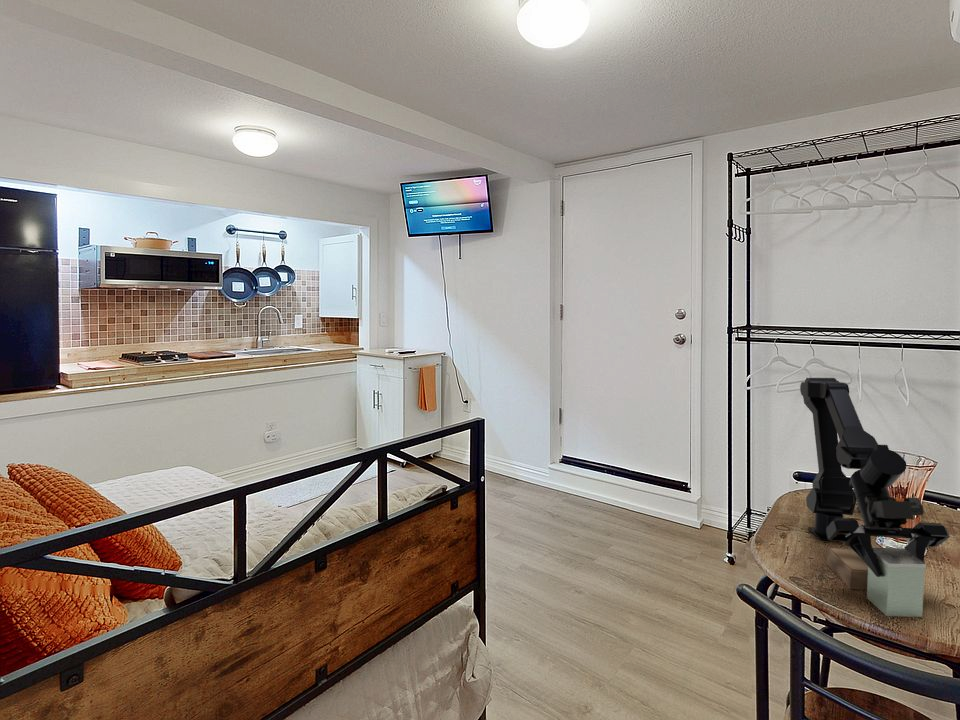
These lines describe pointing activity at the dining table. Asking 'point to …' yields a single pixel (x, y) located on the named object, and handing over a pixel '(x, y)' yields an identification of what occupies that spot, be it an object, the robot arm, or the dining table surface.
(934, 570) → the dining table surface
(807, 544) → the dining table surface
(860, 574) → the walnut box
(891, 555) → the tea tin
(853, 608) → the dining table surface
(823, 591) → the dining table surface
